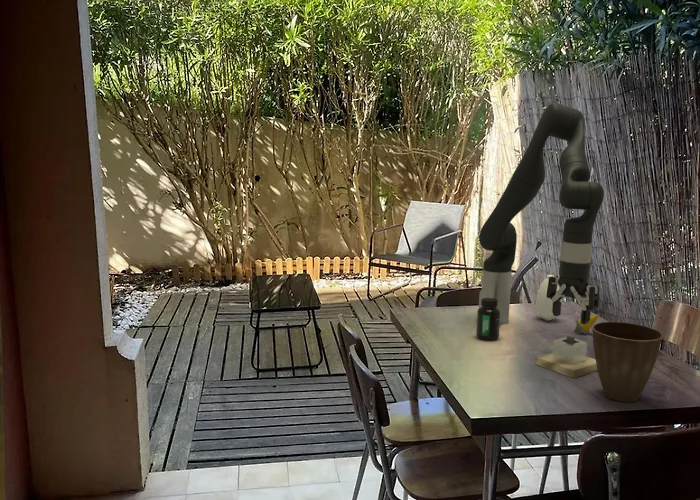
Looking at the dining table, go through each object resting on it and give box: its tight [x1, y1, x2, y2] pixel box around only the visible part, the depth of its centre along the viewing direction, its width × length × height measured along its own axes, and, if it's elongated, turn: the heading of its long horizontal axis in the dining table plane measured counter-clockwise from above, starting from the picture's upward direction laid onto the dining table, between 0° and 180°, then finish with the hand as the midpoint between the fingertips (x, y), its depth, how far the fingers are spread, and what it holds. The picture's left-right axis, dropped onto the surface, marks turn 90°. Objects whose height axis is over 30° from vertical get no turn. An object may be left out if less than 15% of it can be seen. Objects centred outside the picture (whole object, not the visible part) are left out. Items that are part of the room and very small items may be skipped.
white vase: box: [535, 268, 562, 321], centre depth 204 cm, size 8×8×18 cm
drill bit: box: [573, 313, 601, 335], centre depth 191 cm, size 5×5×10 cm
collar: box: [552, 336, 588, 365], centre depth 161 cm, size 6×6×5 cm
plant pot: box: [591, 321, 664, 403], centre depth 142 cm, size 15×15×16 cm
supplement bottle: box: [475, 298, 501, 342], centre depth 185 cm, size 7×7×12 cm
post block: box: [534, 336, 598, 379], centre depth 162 cm, size 12×12×8 cm
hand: (570, 319), depth 160 cm, fingers open, 8 cm apart
